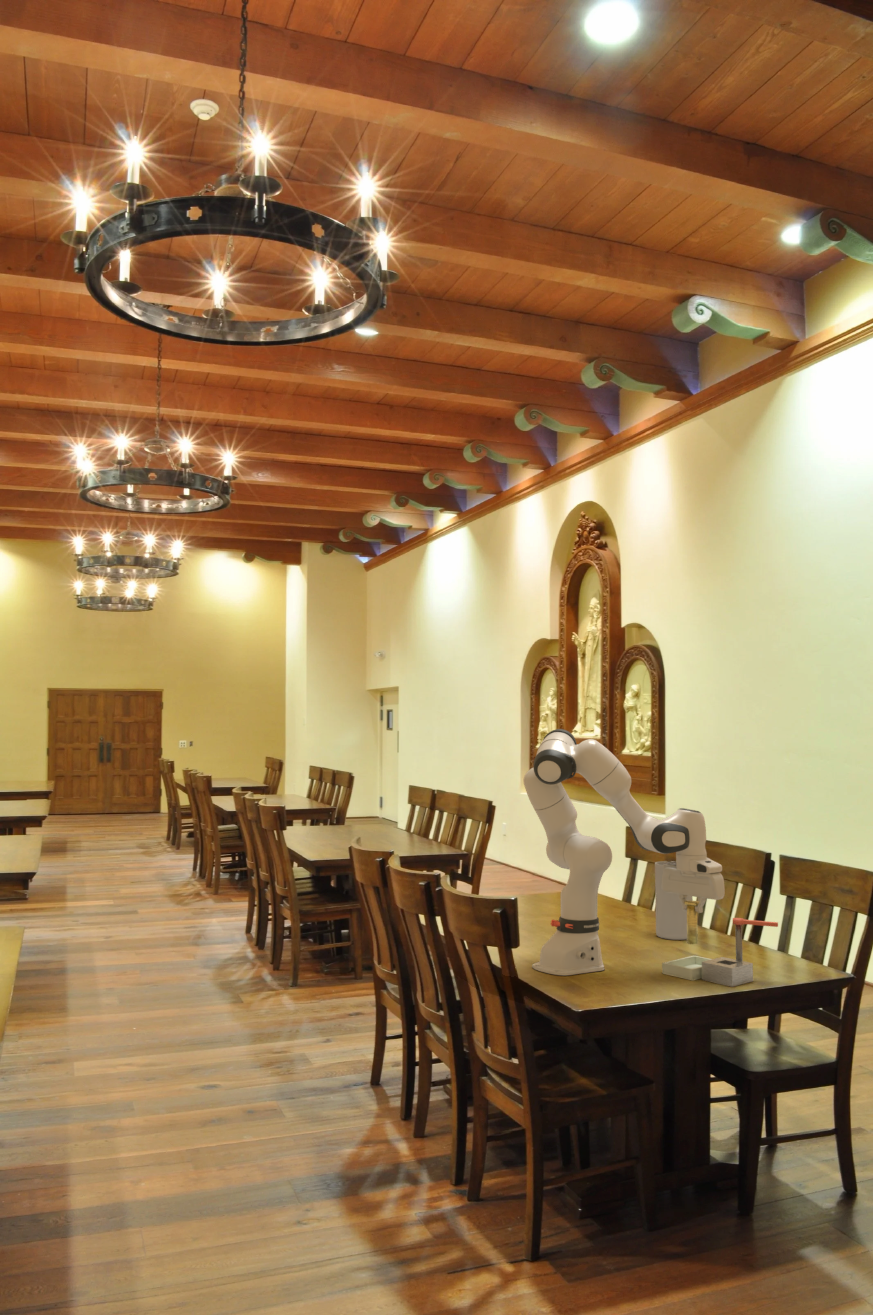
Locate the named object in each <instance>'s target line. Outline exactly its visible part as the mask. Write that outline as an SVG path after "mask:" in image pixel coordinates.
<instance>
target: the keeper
mask: <svg viewBox="0 0 873 1315" xmlns="http://www.w3.org/2000/svg"><path fill="white" fill-rule="evenodd" d="M732 924H733V925H734V926H735V925H742V926H743V925H751V926H762V927H774V928H775V927H776V928H777V927H779V922H778V921H776V922H775V921H765V920H756V919H755V920H754V919H745V918H741V917H733V918H732Z"/></svg>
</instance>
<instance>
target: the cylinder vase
mask: <svg viewBox="0 0 873 1315" xmlns="http://www.w3.org/2000/svg"><path fill="white" fill-rule="evenodd" d="M670 861H671V862H676V860H675V861H674V860H673V861H672V860H670ZM666 862H667V860H664V861H656V862H654V882H655V883H654V886H655V887H654V888H655V889H654V890H655V896H654V897H655V934H656V936H657V937H658V938H660V939H664V940H671V941H685V940H686V941H687V911H686V910H683V904H682V903H681V901H680V899H679V894H674V893H668V892H664V891H663V890H662V875H663V865H664V863H666ZM686 900H687V901H688V900H690V901H694V900H693V896H687V898H686Z"/></svg>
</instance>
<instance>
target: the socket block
mask: <svg viewBox="0 0 873 1315" xmlns="http://www.w3.org/2000/svg"><path fill="white" fill-rule="evenodd" d="M734 926H735V927H734V928H735V931H734V932H735V933H734V935H735V958H730V957H724V956H721V957H716V958H713V959H712V958H711V959H712V960H707V961H703V962H702V978H701V980H702V981H706V982H711V983H713V984H717V985H723V986H728V987H730V988H731V987H732V988H734V987H737V986H740V985H745V984H747V983H751V982H754V971H753V970H754V967H753V966H754V965H753V962H749V961H744V960H743V927H742V926H743V925H735V924H734Z"/></svg>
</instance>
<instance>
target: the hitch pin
mask: <svg viewBox="0 0 873 1315" xmlns="http://www.w3.org/2000/svg"><path fill="white" fill-rule="evenodd" d="M698 904H699V901H698V900H693V901H690V900H688V901H684V905H687V939H686V944H688V945H698V912H695V906H698Z"/></svg>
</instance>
